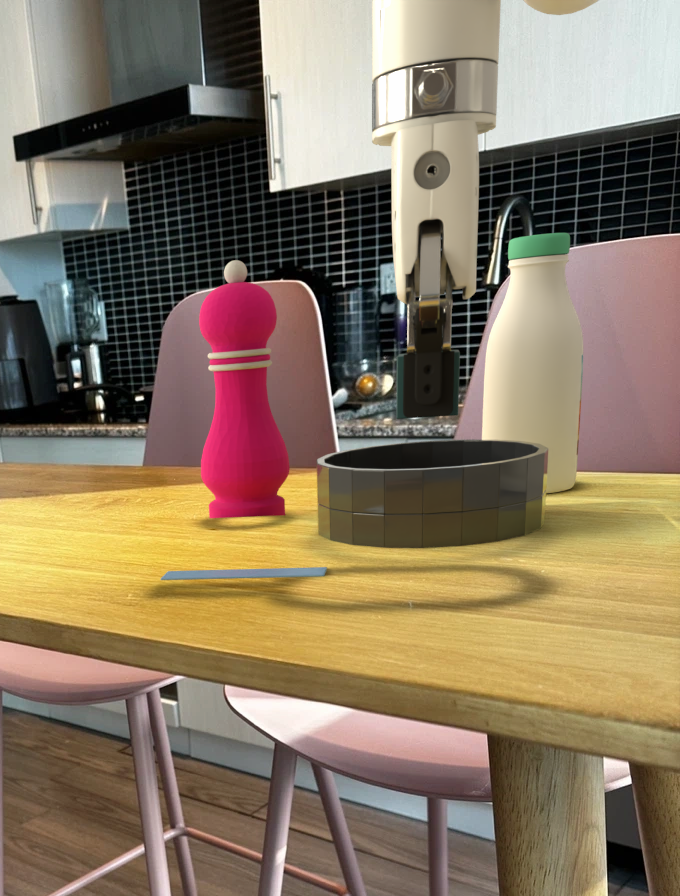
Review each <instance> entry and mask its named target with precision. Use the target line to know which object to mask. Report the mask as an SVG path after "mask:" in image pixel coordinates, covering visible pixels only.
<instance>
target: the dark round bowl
mask: <svg viewBox="0 0 680 896" xmlns="http://www.w3.org/2000/svg"><path fill="white" fill-rule="evenodd" d="M548 450H549V449H548V448H547V447H545V446H543V445H541V444H538V443H531V442H525V441H512V440H482V439H473V438H472V439H468V438H467V439H465V438H464V439H439V440H424V441H423V440H422V441H407V442H396V443H388V444H377V445H369V446H363V447H356V448H350V449H344V450H341V451H336V452H332V453H328V454H325V455H323V456H321V457H318V458H317V459H316V460H315V462H316V463H315V465H316V467H315V468H316V505H317V506H316V507H317V532H318V533H317V534H318V536H320V537H322V538H324V539H327V540H329V541H331V542H335V543H341V544H346V545H350V546H359V547H371V548H386V549H432V548H449V547H465V546H473V545H474V546H475V545H481V544H488V543H489V544H490V543H496V542H501V541H505V540H511V539H515V538H520V537H524V536H528V535H529V534H532V533H534V532H536V531H539V530H541V529H542V528H543V526H544V524H545V523H546V503H547V493H546V487H547V469H548Z"/></svg>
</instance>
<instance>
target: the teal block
mask: <svg viewBox="0 0 680 896" xmlns="http://www.w3.org/2000/svg"><path fill="white" fill-rule="evenodd" d="M451 351H455V354H454V392H453V411H452V413H451V414H450V415H447V416H446V417H452V416H453V417H454V416H459V404H460V403H459V401H460V368H461V367H460V366H461V365H460V364H461V352H460V350H459V349H453V350H451ZM442 352H443V351H442ZM405 354H406V353H399V354H398V355H397V356H396V416H395V417H396V420H402V419H408V418H407V417H405V416H404V414H403V364H404V355H405ZM415 354H416V353H415ZM435 417H439V416H430V417H429V418H435ZM417 418H419V419H420V418H422V417H413V418H412V419H417Z"/></svg>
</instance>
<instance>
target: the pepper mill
mask: <svg viewBox="0 0 680 896" xmlns="http://www.w3.org/2000/svg"><path fill="white" fill-rule="evenodd" d="M224 267H225V268H224V271H223V276H224V279H225V281H226V282H227V283H225V284H222V285H220V286H218V287H216V288H214V289H213V290H212V291H210V292H209V293H208V295H206V297H205V298H204V300H203V302H202V303H201V306H200V310H199V317H198V321H199V322H198V324H199V330H200V333H201V335H202V337H203V338H204V340H205V341H206V342H207V343H208V344H209V345H210V348H211V352H209V353H208V354H207V358H208V359H209V362H208V364H209V365H208V371H210V372H213V379H214V387H215V388H214V389H215V401H214V403H215V405H214V411H213V418H212V421H211V425H210V428H209V431H208V434H207V436H206V439H205V443H204V446H203V450H202V455H201V460H200V477H201V480H202V482H203V484H204V485H205V487H206V488H207V489H208V490H209V491H210V492H211V494H213V496H214V498H215V499H213V500H212V501H210V503H209V504H208V515H209V517H208V518H209V519H223V518H224V519H226V518H228V519H229V518H251V517H253V518H255V517H278V516H286V503H285V501H286V500H285V498H284V497H283V496H281V495H278V492H279V490H280V489H281V486H283V485H284V483H285V482H286V480H287V478H288V476H289V474H290V469H291V468H290V466H291V465H290V459H289V457H290V456H289V453H288V449H287V446H286V443H285V441H284V438H283V436H282V434H281V431H280V429H279V427H278V424H277V423H276V420H275V417H274V415H273V413H272V409H271V406H270V402H269V396H268V387H267V386H268V385H267V382H268V381H267V379H268V367H270V366H272V365H273V361H272V360H271V355H270V354H271V353H272V351H273V350H272V349H271V348H270V347H267V343H268V341H269V339H270V338H271V336H272V334H273V333H274V332H275V330H276V327H277V322H278V321H277V320H278V319H277V318H278V315H277V308H276V304H275V301H274V299H273V297H272V295H271V294H270V293H269V291H268V290H266V288H264V287H263V286H260V285H258V284H257V283H253V282H247V281H246V280H247V277H248V269H247V266H246V264H245V263H244V262H243V261H241V260H238V259H235V260H231V261H229V262H228V263H227V264H226V265H225V266H224Z"/></svg>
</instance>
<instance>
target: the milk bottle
mask: <svg viewBox="0 0 680 896" xmlns="http://www.w3.org/2000/svg"><path fill="white" fill-rule="evenodd" d="M507 247H508V249H507V258H508V260H509V261H508V265H507V268H508V269H509V270H510V277H509V283H508V286H507V290H506V293H505V297H504V299H503V302H502V304H501V306H500V309H499V310H498V314H497V316H496V318H495V319H494V322H493V325H492V327H491V329H490V332H489V336H488V340H487V344H486V351H485V360H484V375H483V376H484V377H483V396H482V397H483V400H482V401H483V402H482V425H481V427H482V429H481V440H512V441H525V442H531V443H538V444H541V445H543V446H545V447H547V448H548V449H549V450H548V469H547V487H546V494H552V493H559V492H564V491H567V490H570V489H572V488H573V487H575V486H574V485H575V484H576V481H577V471H578V458H579V457H578V456H579V444H580V443H579V442H580V427H581V426H580V425H581V413H582V396H583V395H582V394H583V393H582V392H583V378H584V377H583V374H584V335H583V330H582V325H581V322H580V318H579V316H578V313H577V310H576V308H575V305H574V303H573V301H572V300H573V299H572V298H571V295H570V291H569V287H568V284H567V278H566V266H567V263H569V261H570V259H569V253H570V249H571V236H570V234H569V233H568V232H553V233H552V232H551V233H541V234H531V235H526V236H524V235H523V236H519V237H514V238H512V239H510V240H509V242H508V246H507Z"/></svg>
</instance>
